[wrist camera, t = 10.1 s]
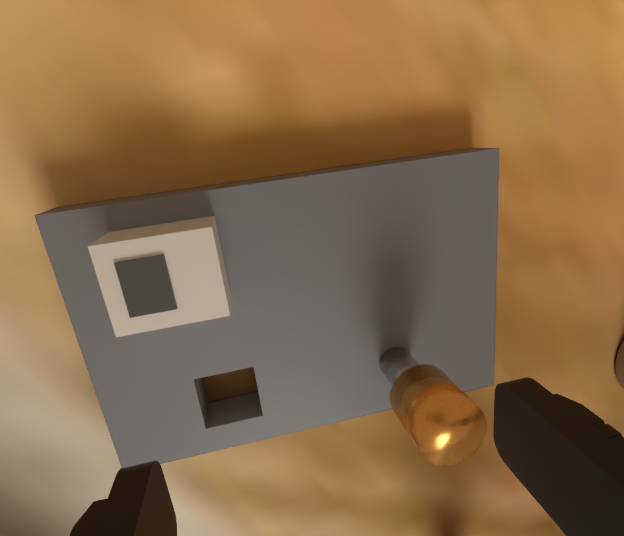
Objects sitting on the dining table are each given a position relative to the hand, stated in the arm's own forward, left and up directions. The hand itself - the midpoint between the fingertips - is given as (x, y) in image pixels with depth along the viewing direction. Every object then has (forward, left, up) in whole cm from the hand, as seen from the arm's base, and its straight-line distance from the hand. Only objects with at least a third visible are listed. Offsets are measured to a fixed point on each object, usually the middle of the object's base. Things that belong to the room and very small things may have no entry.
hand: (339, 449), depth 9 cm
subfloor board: (-2, +4, -20) cm, 20 cm away
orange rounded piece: (-8, +9, -17) cm, 21 cm away
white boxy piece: (+6, -1, -17) cm, 18 cm away
